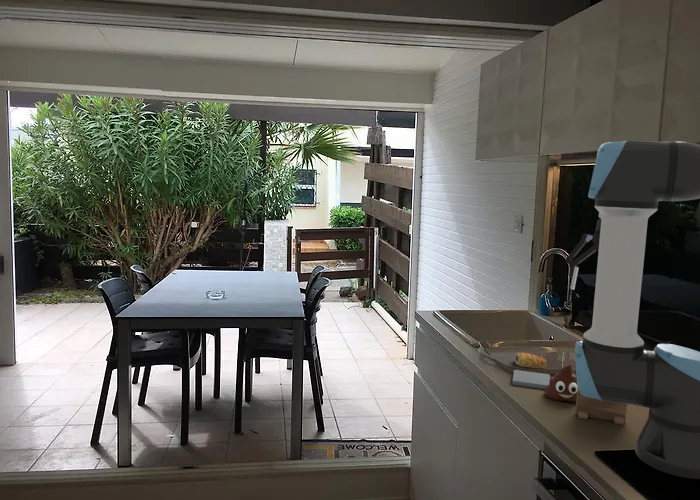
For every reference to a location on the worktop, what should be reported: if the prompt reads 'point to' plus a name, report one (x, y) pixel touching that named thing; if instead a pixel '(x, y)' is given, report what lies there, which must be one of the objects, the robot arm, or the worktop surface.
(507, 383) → the worktop surface
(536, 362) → the pastry
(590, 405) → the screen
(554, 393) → the poop emoji
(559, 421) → the worktop surface
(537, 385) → the board
